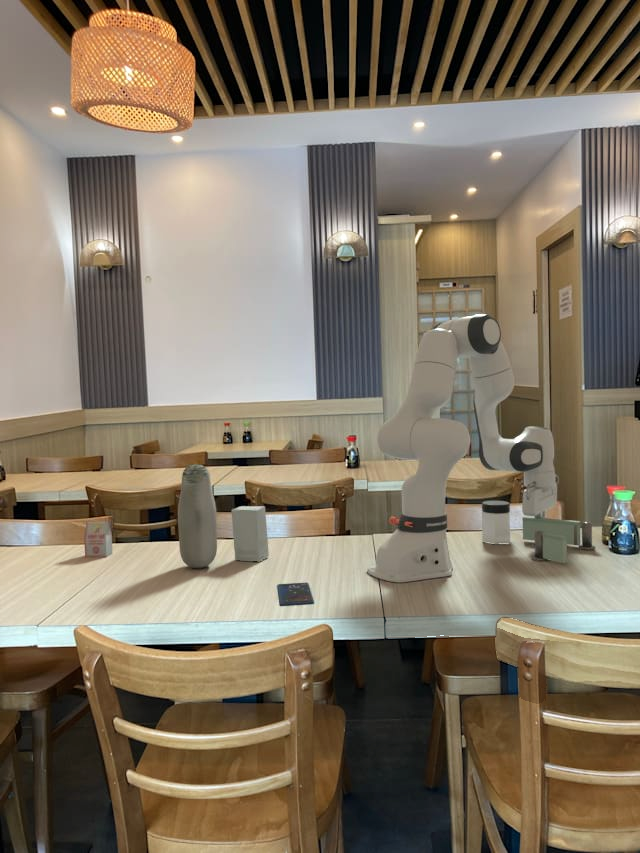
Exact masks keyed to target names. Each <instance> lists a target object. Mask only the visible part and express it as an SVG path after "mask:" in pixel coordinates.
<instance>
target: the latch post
mask: <svg viewBox="0 0 640 853" xmlns="http://www.w3.org/2000/svg"><path fill="white" fill-rule="evenodd" d="M542 533H545V532H544V531H535V541H534V554H533V555H531V557H530V558H531V559H530V560H532V561H535V562H543V561H545V562H549V559H545V558H543V537H542ZM543 563H544V562H543Z"/></svg>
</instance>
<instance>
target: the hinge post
mask: <svg viewBox="0 0 640 853" xmlns="http://www.w3.org/2000/svg"><path fill="white" fill-rule="evenodd" d="M579 548H581V549H580V550H582V549H585V550H584V551H595V550H596V546H595V545H593V523H592V521H581V544H580V545H578V549H579ZM594 549H595V550H594Z"/></svg>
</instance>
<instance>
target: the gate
mask: <svg viewBox="0 0 640 853" xmlns="http://www.w3.org/2000/svg"><path fill="white" fill-rule="evenodd" d="M535 531H544V532H545V533H546V532H547V533H552V534H557V535H561V536H566V537H567V545H570V546H572V545H573V546H579V545H581V521H580V520H570V519H569V520H568V519H559V518H558V519H557V518H550V517H549V518H548V517H547V518H546V517H545V518H537V517H535V516H527V515H523V516H522V540H526V541H534V542H535Z"/></svg>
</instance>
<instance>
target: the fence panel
mask: <svg viewBox="0 0 640 853" xmlns="http://www.w3.org/2000/svg"><path fill="white" fill-rule="evenodd" d="M542 537H543V558H545V559H549V560H550V561H553V562H557V563H561V564H566V563H568V552H567V551H568V549H567V548H568V544H567V537H566V536H561V535H557V534H552V533H547V532H546V533H542ZM549 560H548V561H549Z"/></svg>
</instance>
